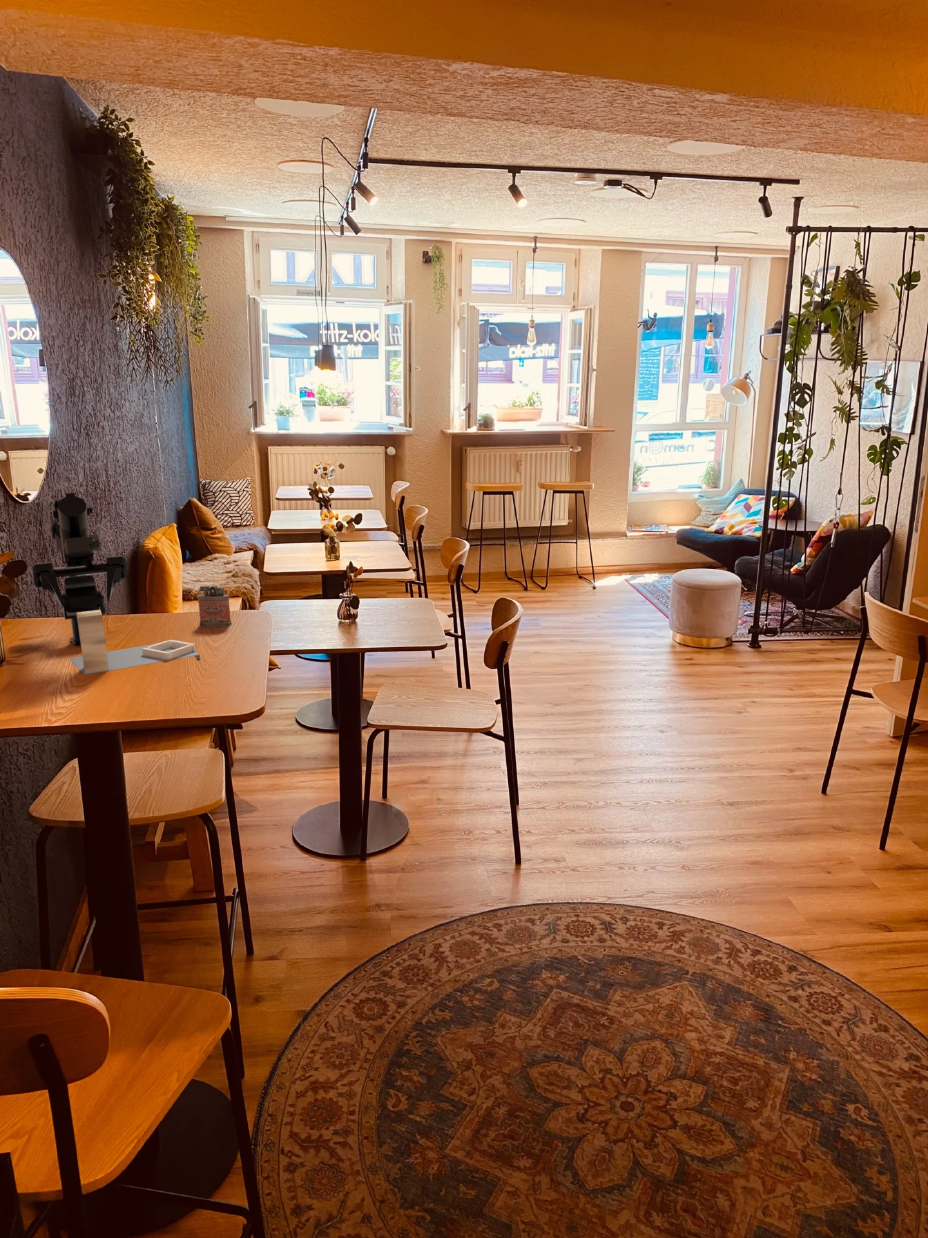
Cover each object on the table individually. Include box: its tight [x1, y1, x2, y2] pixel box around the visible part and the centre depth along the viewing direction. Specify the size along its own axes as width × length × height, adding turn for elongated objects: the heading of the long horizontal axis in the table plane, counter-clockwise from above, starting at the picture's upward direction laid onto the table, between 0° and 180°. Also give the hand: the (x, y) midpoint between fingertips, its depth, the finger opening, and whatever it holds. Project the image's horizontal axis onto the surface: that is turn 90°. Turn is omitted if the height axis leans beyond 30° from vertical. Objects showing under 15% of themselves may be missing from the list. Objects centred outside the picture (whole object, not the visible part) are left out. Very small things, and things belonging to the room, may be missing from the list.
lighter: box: [196, 584, 232, 627], centre depth 226 cm, size 8×3×10 cm, turn 84°
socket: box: [142, 639, 197, 661], centre depth 200 cm, size 8×8×2 cm
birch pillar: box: [77, 610, 109, 674], centre depth 188 cm, size 5×5×12 cm
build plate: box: [69, 639, 201, 676], centre depth 198 cm, size 15×24×1 cm, turn 124°
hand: (86, 603), depth 193 cm, fingers open, 9 cm apart
